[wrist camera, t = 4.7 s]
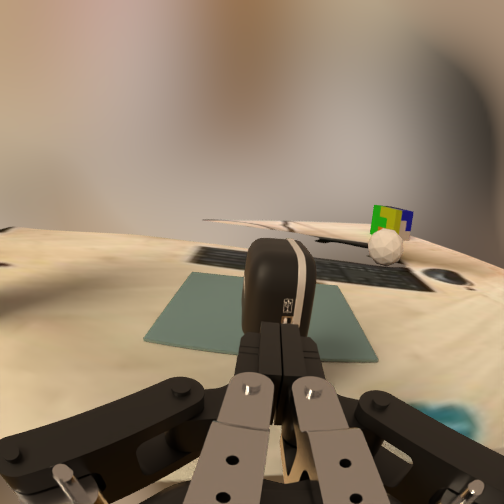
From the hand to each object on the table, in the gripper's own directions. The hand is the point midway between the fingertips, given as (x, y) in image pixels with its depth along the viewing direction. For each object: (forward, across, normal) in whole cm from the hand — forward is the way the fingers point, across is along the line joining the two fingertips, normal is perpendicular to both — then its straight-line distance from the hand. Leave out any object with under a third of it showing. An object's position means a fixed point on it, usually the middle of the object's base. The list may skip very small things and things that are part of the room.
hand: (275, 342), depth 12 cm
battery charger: (+8, 0, +9) cm, 12 cm away
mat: (+22, 0, +9) cm, 24 cm away
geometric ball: (+49, -25, +9) cm, 55 cm away
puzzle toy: (+86, -42, +9) cm, 96 cm away
